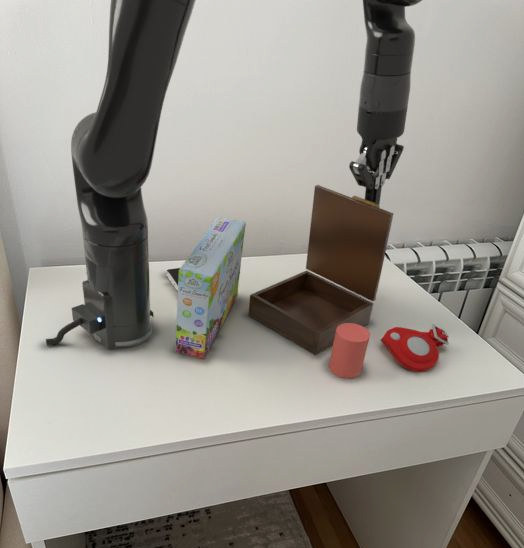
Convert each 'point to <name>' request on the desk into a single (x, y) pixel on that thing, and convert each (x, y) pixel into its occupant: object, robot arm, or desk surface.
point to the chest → (308, 310)
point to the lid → (348, 241)
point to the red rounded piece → (415, 346)
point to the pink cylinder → (349, 350)
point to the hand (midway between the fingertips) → (371, 206)
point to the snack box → (208, 286)
